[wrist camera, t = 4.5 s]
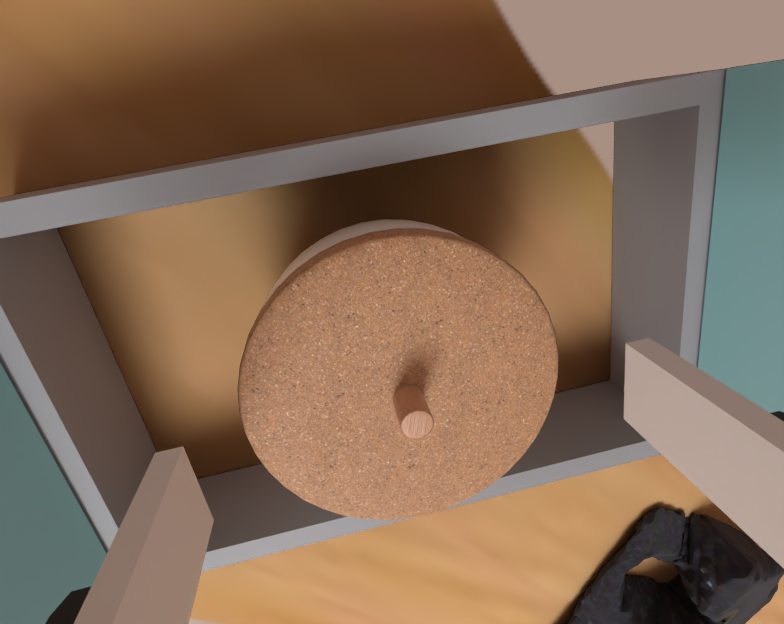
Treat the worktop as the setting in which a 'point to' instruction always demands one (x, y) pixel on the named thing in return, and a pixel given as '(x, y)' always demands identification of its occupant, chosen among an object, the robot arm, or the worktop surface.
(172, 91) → the worktop surface
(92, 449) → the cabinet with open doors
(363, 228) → the lidded jar
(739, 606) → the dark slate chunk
